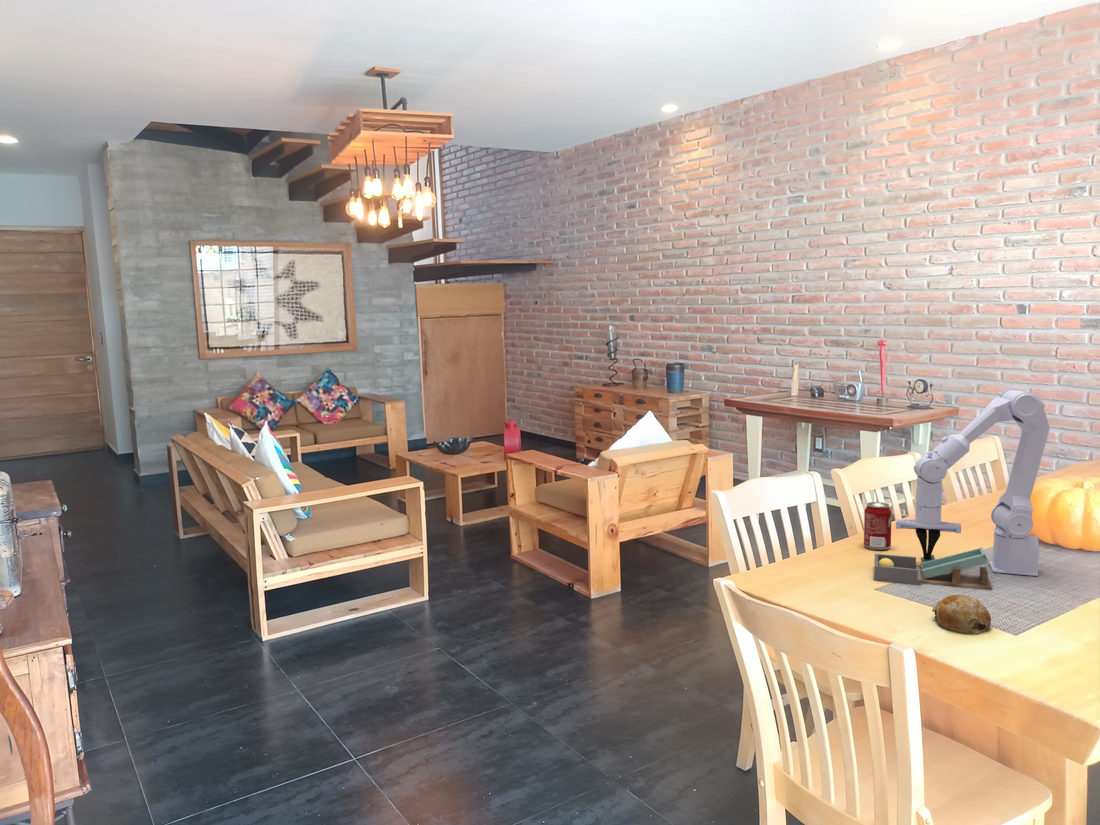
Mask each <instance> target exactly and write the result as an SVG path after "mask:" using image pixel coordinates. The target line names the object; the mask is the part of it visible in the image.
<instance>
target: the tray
mask: <svg viewBox="0 0 1100 825" xmlns="http://www.w3.org/2000/svg"><path fill="white" fill-rule="evenodd" d="M883 558H888V559H890V560H891V561H892V562H893V563H894V567H887V566H878V562H879V561H880V560H881V559H883ZM873 563H874V566H873V567H874V569H873V572H874V573H873V581H875V582H883V583H884V582H885V583H886V582H887V583H895V584H896V583H897V584H905V585H907V584H908V585H916V586H917V585H918V586H922V583H921V575H920V570H921V569H920V566H918V565H917V557H916V556H908V555H899V554H898V555H896V554H884V553H883V554H882V553H874V562H873Z"/></svg>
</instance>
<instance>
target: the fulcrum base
mask: <svg viewBox="0 0 1100 825" xmlns="http://www.w3.org/2000/svg"><path fill="white" fill-rule="evenodd" d="M961 571H962V570H961V569H960V568H953V572H950V573H946V574H942V575H938V576H934V577H930V578H926V579H925V578H924V575H923V573H922V569H920V575H921V584H924V585H927V584H928V585H933V586H934V585H935V586H936V585H937V586H946V587H957V588H968V589H979V590H990V591H992V590H993V587H992V586H993V585H992V584H991V581H990V578H989V572H988V569H987V567H983V566H980V567H979V575H977V574H975V575H974V574H965V573H962V572H961Z"/></svg>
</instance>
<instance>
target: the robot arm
mask: <svg viewBox="0 0 1100 825" xmlns="http://www.w3.org/2000/svg"><path fill="white" fill-rule="evenodd" d="M1007 421H1009V422H1010V421H1014V423H1015V424H1017V426H1018V427H1019V428H1020V430H1021V434H1020V435H1021V436H1020V438H1019V442H1018V445H1017V450H1016V453H1015V457H1014V459H1013V460H1014V461H1013V464H1012V468H1011V472H1010V474H1009V475H1010V476H1009V479H1008V483H1007V485H1006V489H1005V492H1004V493H1003V494H1002V495H1000V497H999V499H998V502H997V504H996V505H995V506H994V507H993V509H992V510H991V513H990V515H991V516H990V518H991V520H992V523H994V525H995V528H994V529H993V549H992V550H993V551H992V552H993V553H992V560H989V561H988V564H989V566H990V568H991V571H992V572H993V573H999V574H1000V573H1001V574H1012V575H1023V576H1032V577H1033V576H1035V577H1038V576H1039V557H1040V556H1039V555H1040V546H1039V545H1040V544H1039V538H1038V536H1037V535H1031V534H1030V533H1031V532H1032V530H1033V528H1034V522H1033V517H1032V515H1033V511H1034V508H1033V506H1032V501H1031V497H1032V494H1033V490H1034V486H1035V482H1036V480H1037V476H1038V472H1039V468H1040V464H1041V462H1042V457H1043V454H1044V450H1045V447H1046V444H1047V440H1048V437H1049V433H1050V429H1051V428H1050V427H1051V426H1050V424H1049V420H1048V418H1047V414H1046V410H1045V403H1044V402H1043V401H1042V400H1041V399H1040V398H1039V396H1038V395H1036V394H1035V393H1033V392H1029V391H1028V392H1027V391H1022V390H1019V389H1017V388H1008V389H1006V390H1004V391H1002V392H1001V393H1000V394H999V395H998V396H996V397H995V398H993V399H992V400H991V401H990V403H989V404H988V405H987V406H986V407H985V408H983V409H982V411H981V412H980V413H979V414H977V416H976V417H975V418H973V419H972V420H971V422H969V423H968V424H967V426H966V427H964V428H963V429H962V430H961V431H960V432H959V433H957V434H956V433H955V434H953V433H951V434H949V435H948V436H945V435H944V436H943V437H942V438H941V439H940V440H941V442H940V443H938V445H937V446H936V447H934V448H933V449H932V450H931V451H930V450H928V451H927V452H926V455H925V456H921V457H919V458H918V459H917V461H916V462H915V465H913V471H914V473H915V475H916V490H915V519H898V518H897V519H895V529H896V530H901V529H906V530H915V534H916V537H917V538H918V541H919V544H920V546H921V550H922V553H923V554H922V555H923V556H922V557H923V558H924V559H926V560H930V559H931V555H933V551H934V548H935V546H936V544H937V542H938V541H939V540H940V537H941V532H944V533H945V532H949V533H956V534H961V533H962V524H961V523H956V522H955V523H954V522H948V521H942V505H943V504H942V502H943V501H942V500H943V499H942V498H943V480H944V479H945V478H946V476H947V474H948V473H947V471H948V470H949V469H951V467H953V466H954V465H955V464H957V462H959V461H960V460H961V459H962V458H963V457H965V456H966V454H968V453H969V452H970V444H971V443H972V442H974V441H975V440H977V439H978V438H979V437H980V436H982V435H983V434H984V433H985V432H986V431H988V430H989V429H990V428H992V427H993V426H994V425H996V424H997V423H1000V422H1007Z"/></svg>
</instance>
